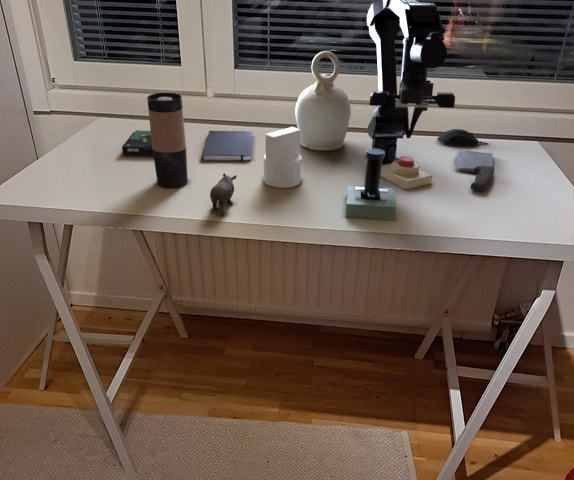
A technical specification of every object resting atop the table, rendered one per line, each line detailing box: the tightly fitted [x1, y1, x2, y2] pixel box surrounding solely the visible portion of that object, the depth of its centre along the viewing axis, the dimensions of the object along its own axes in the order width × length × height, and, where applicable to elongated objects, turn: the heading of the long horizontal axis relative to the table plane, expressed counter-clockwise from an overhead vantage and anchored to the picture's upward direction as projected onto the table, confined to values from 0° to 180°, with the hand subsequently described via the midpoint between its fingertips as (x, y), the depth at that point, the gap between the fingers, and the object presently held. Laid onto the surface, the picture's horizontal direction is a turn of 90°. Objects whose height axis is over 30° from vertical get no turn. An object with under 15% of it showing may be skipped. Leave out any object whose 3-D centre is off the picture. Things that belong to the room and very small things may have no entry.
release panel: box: [380, 160, 433, 190], centre depth 137 cm, size 11×8×4 cm
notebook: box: [202, 130, 253, 162], centre depth 154 cm, size 13×2×21 cm
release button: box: [398, 155, 415, 167], centre depth 135 cm, size 4×4×2 cm
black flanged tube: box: [355, 148, 388, 200], centre depth 119 cm, size 7×7×13 cm
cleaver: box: [454, 150, 495, 192], centre depth 143 cm, size 29×10×2 cm, turn 163°
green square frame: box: [345, 185, 396, 221], centre depth 122 cm, size 10×10×3 cm
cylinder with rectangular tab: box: [263, 126, 303, 189], centre depth 132 cm, size 9×9×12 cm
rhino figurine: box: [209, 172, 237, 216], centre depth 121 cm, size 4×14×6 cm, turn 171°
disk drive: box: [121, 129, 154, 157], centre depth 152 cm, size 10×3×15 cm
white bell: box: [295, 50, 352, 152], centre depth 152 cm, size 15×16×25 cm
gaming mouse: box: [437, 128, 488, 147], centre depth 162 cm, size 6×15×4 cm, turn 88°
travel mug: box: [146, 92, 189, 189], centre depth 127 cm, size 8×8×20 cm
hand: (408, 138), depth 129 cm, fingers closed
